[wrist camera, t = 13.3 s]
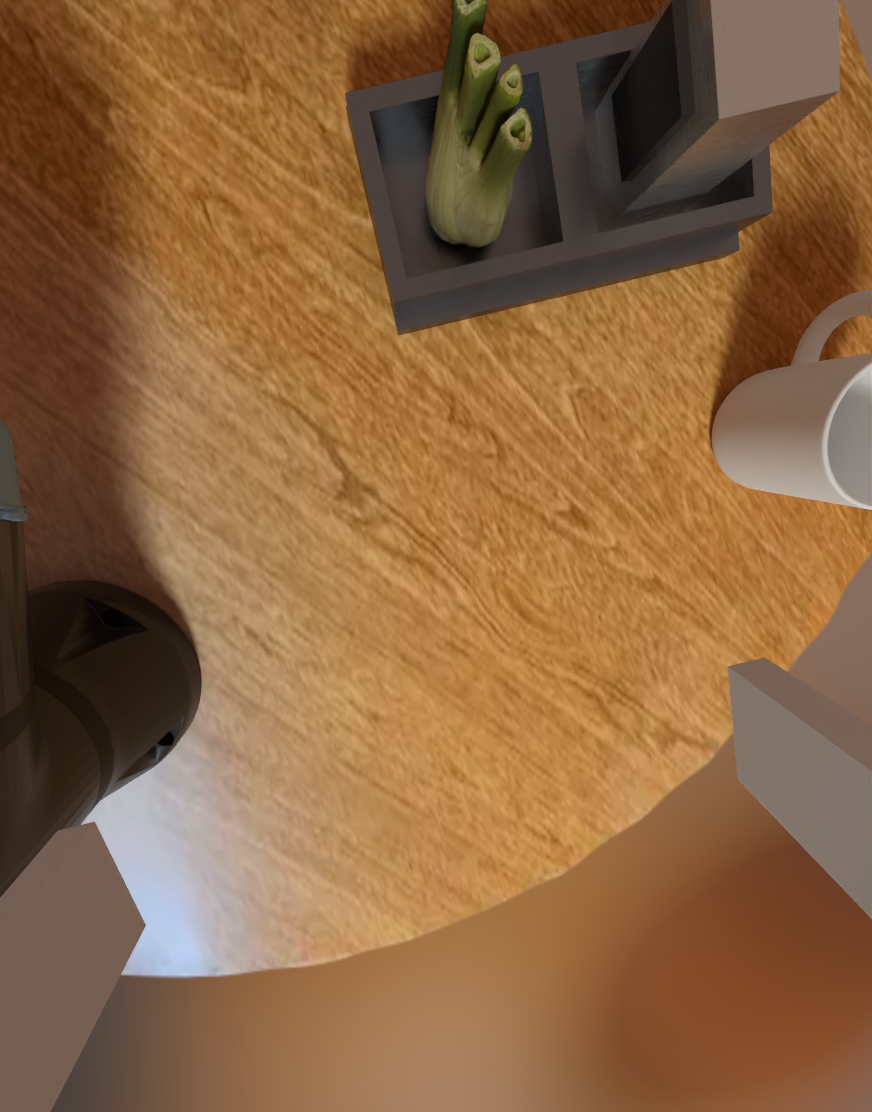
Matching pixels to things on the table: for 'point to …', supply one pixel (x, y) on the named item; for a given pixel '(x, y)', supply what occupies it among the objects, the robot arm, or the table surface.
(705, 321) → the table surface
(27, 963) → the robot arm
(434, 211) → the fennel bulb
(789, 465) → the mug
